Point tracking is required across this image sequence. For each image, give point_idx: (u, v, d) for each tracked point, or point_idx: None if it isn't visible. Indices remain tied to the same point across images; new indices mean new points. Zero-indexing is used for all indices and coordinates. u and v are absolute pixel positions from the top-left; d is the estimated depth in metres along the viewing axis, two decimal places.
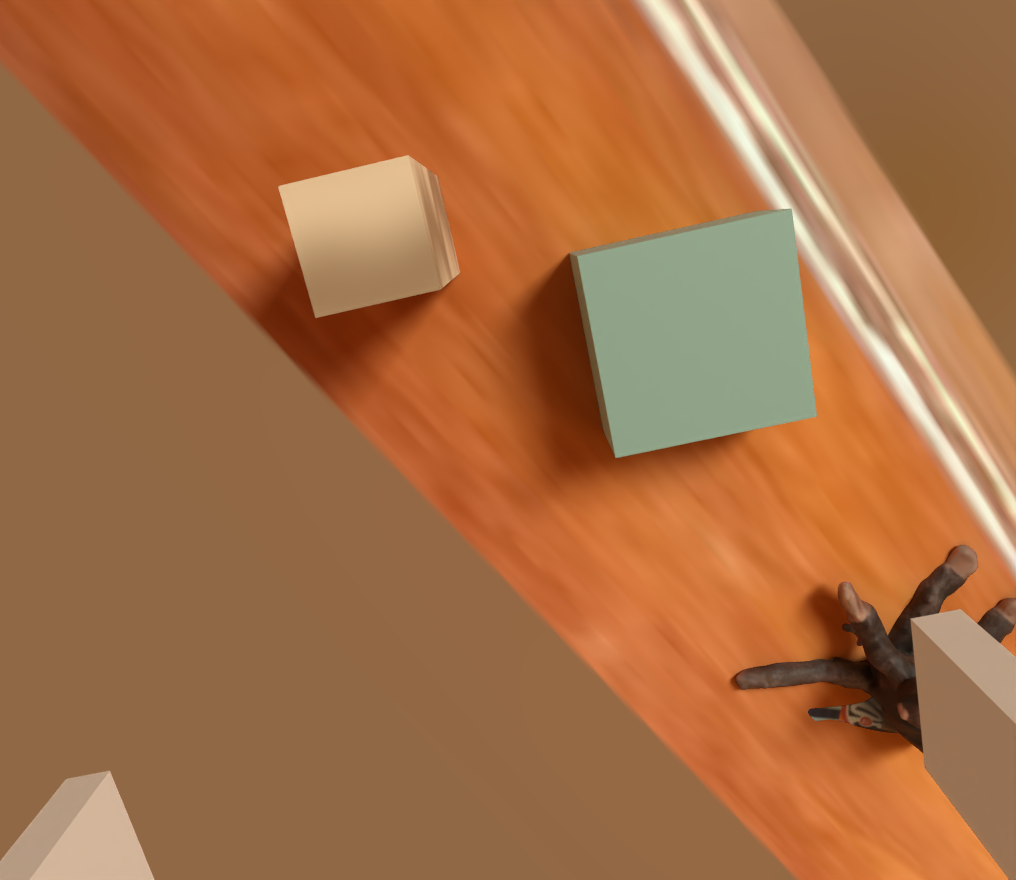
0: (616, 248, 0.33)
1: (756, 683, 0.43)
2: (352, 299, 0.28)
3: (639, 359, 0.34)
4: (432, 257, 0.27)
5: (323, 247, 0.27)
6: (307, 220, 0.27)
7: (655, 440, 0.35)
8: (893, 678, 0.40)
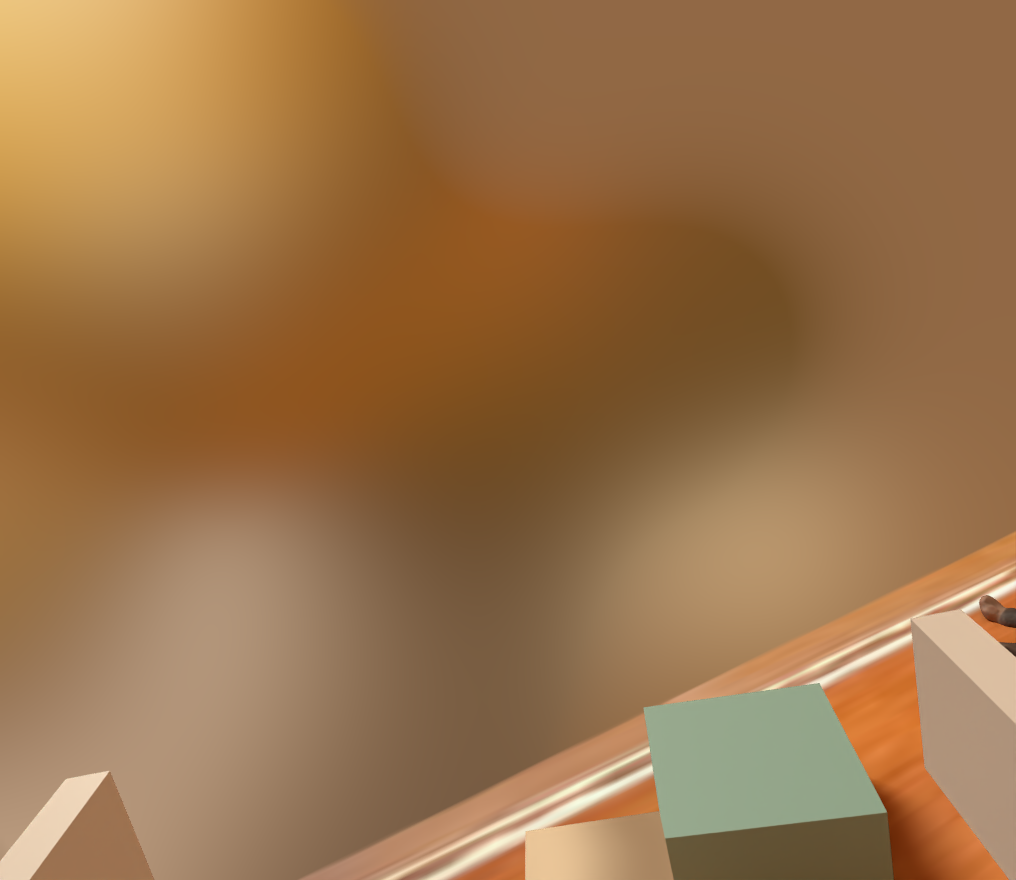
0: (660, 810, 0.35)
1: None
2: None
3: (771, 793, 0.34)
4: (626, 818, 0.26)
5: None
6: None
7: (860, 781, 0.34)
8: None
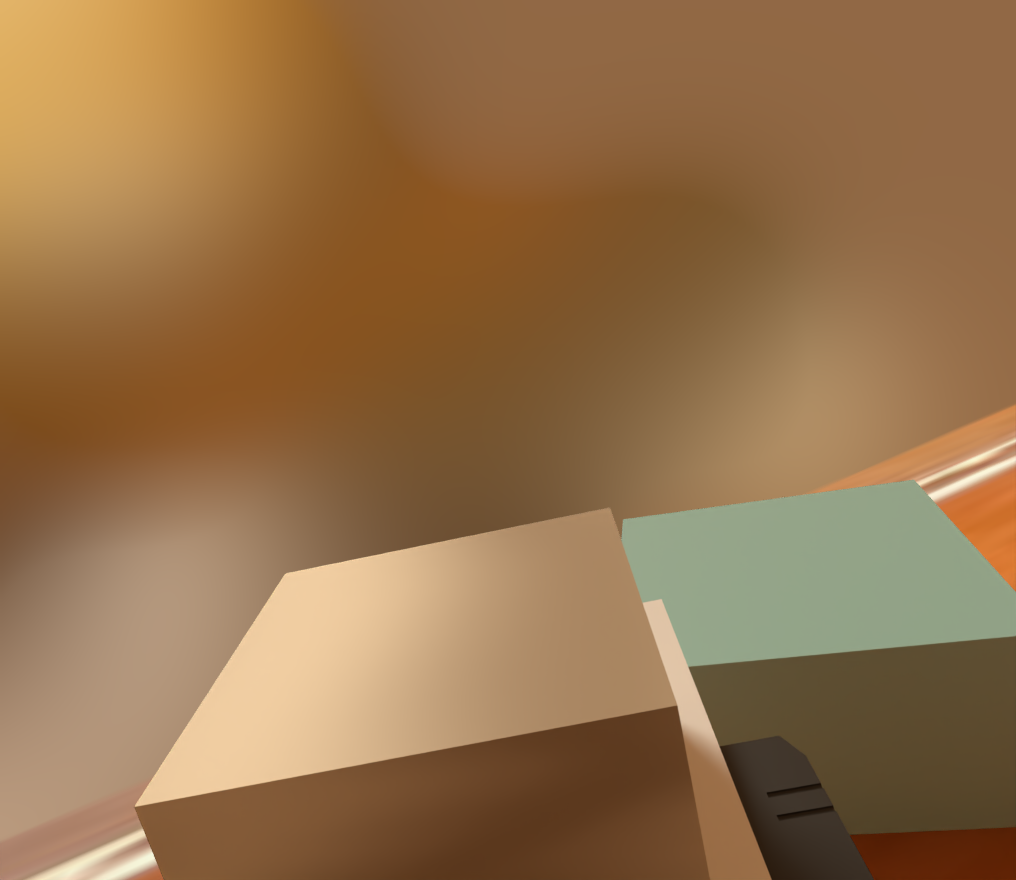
0: None
1: None
2: (614, 624, 0.08)
3: (819, 611, 0.19)
4: None
5: (414, 689, 0.07)
6: (304, 729, 0.07)
7: (992, 591, 0.18)
8: None
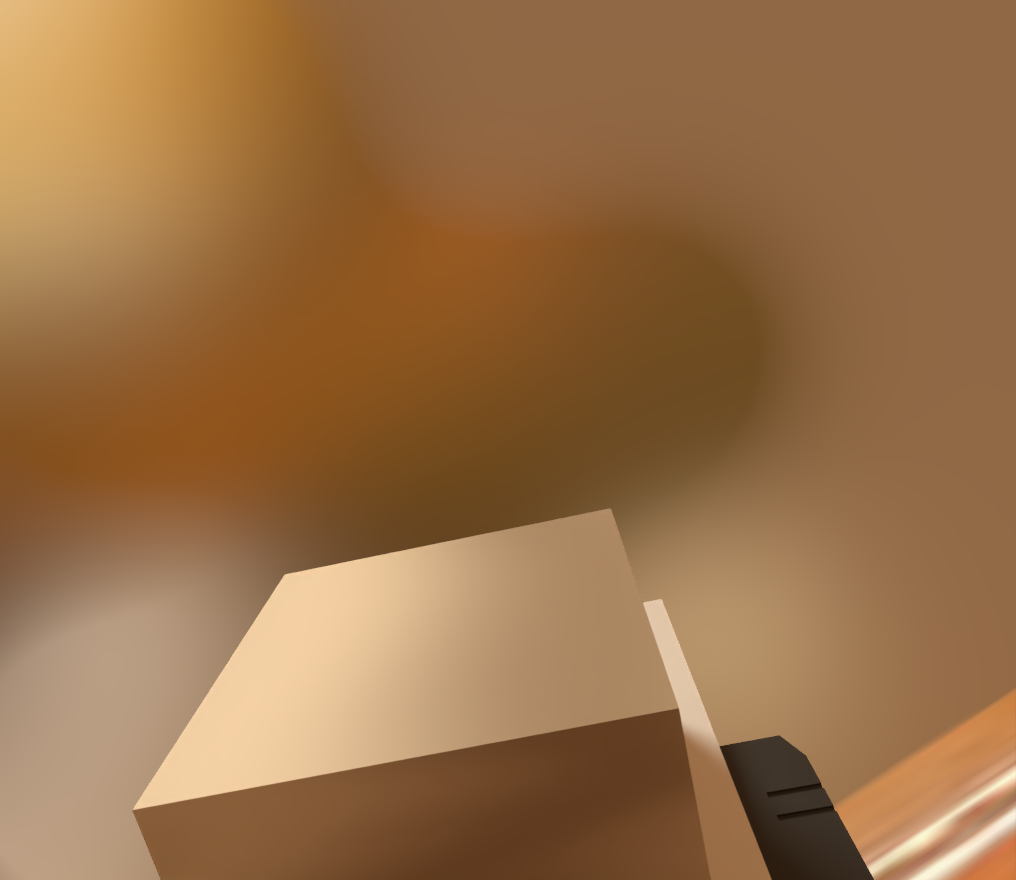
0: None
1: None
2: (615, 626, 0.08)
3: None
4: None
5: (414, 692, 0.07)
6: (303, 731, 0.07)
7: None
8: None
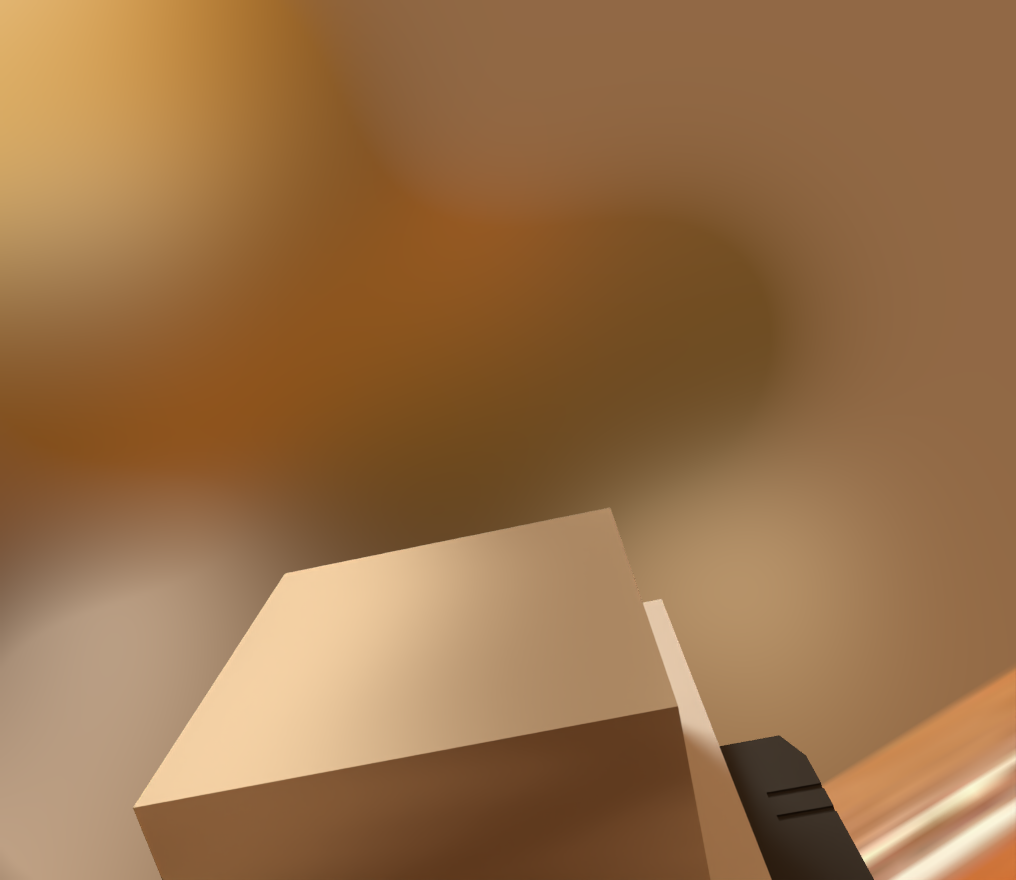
0: None
1: None
2: (615, 624, 0.08)
3: None
4: None
5: (415, 690, 0.07)
6: (304, 730, 0.07)
7: None
8: None
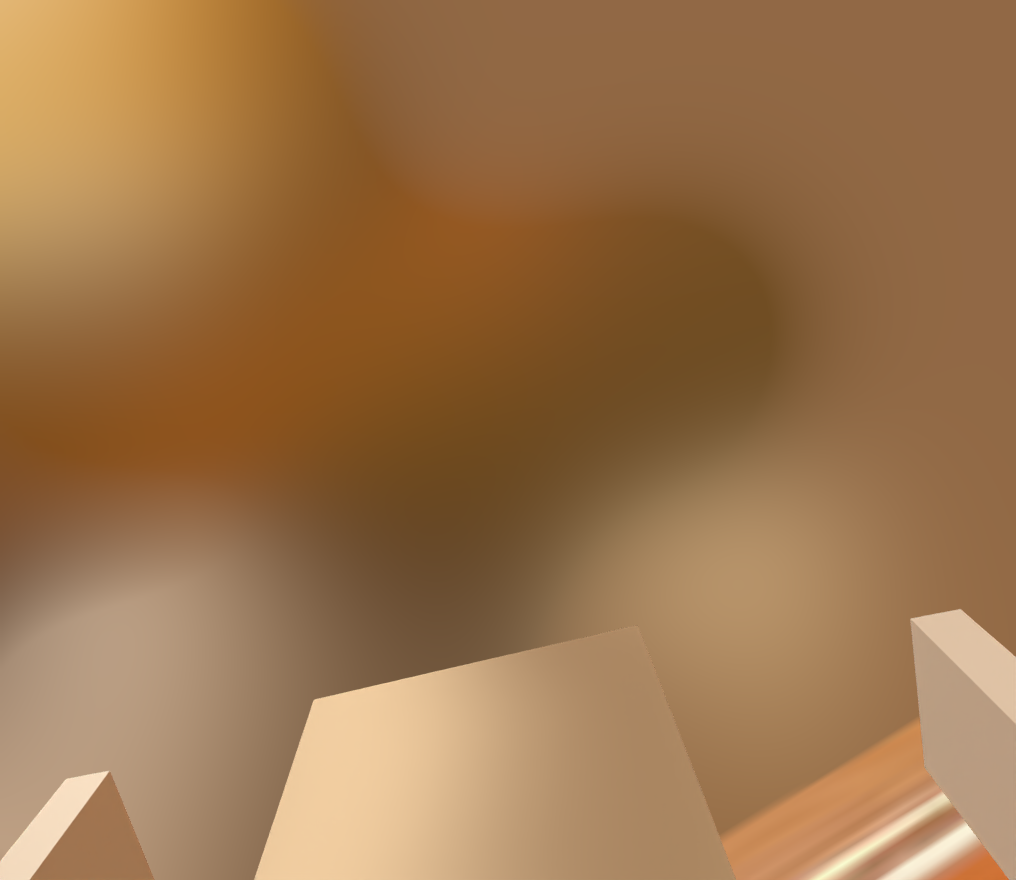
0: None
1: None
2: (666, 789, 0.08)
3: None
4: (558, 648, 0.11)
5: (474, 872, 0.07)
6: None
7: None
8: None
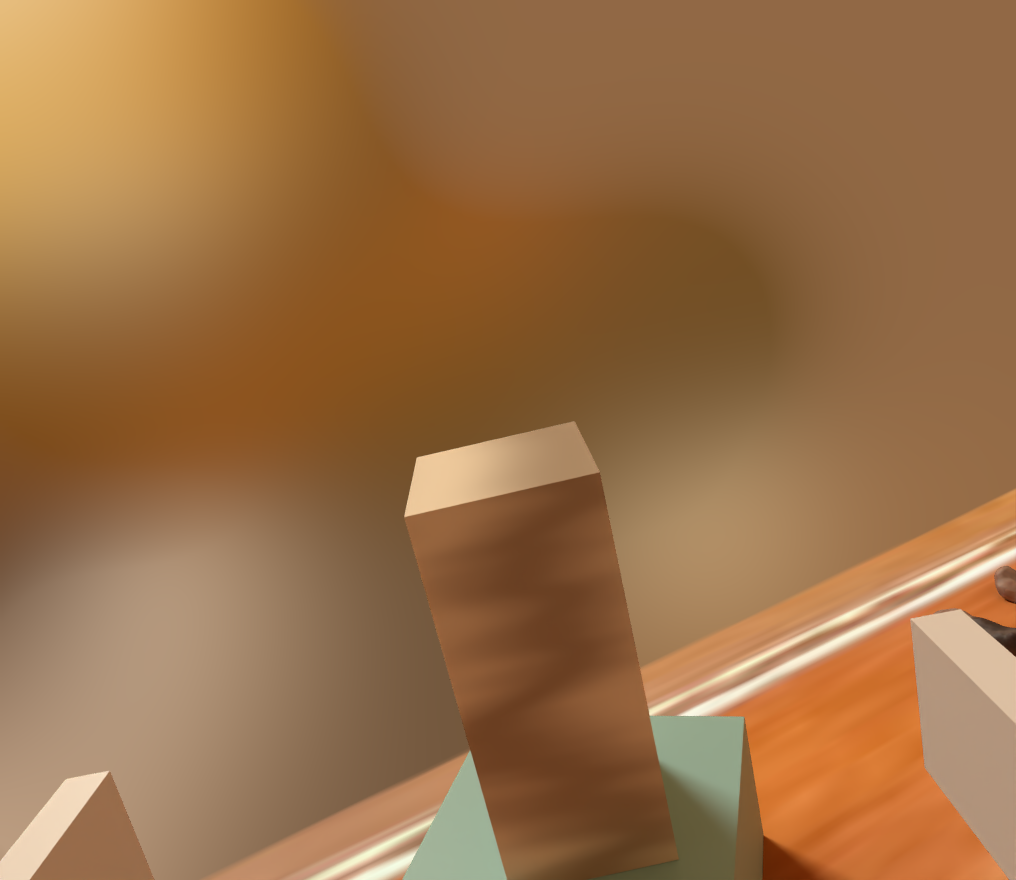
0: (405, 878, 0.22)
1: None
2: (577, 456, 0.19)
3: None
4: None
5: (500, 480, 0.19)
6: (459, 494, 0.19)
7: None
8: None
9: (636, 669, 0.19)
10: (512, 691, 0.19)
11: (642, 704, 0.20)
